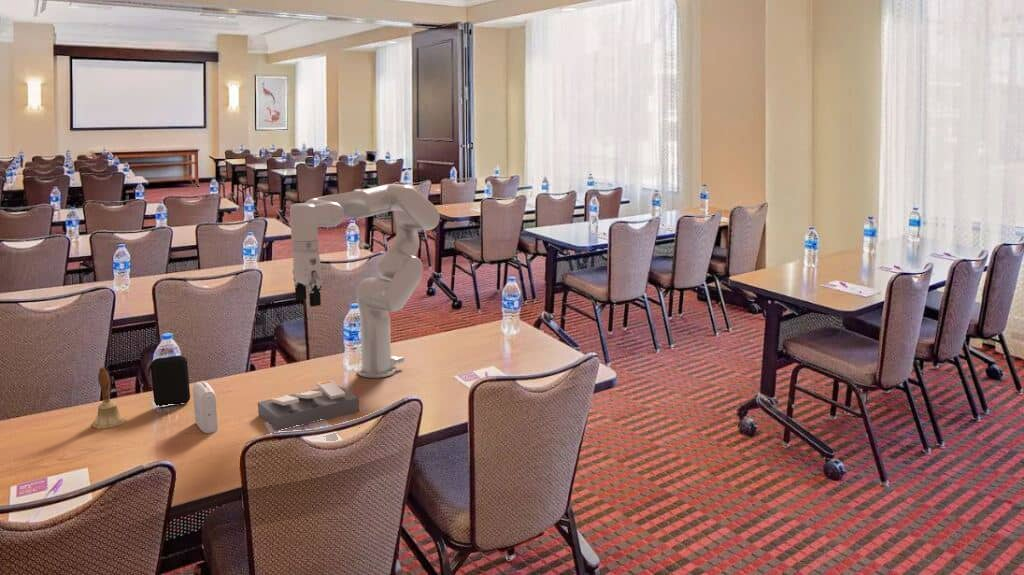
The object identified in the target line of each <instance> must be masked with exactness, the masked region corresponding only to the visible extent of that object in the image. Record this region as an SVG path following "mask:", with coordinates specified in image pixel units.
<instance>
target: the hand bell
mask: <svg viewBox="0 0 1024 575" xmlns="http://www.w3.org/2000/svg"><path fill="white" fill-rule="evenodd" d="M97 380H98V385H99V387H100V389H101V394H102V395H101V396H102V402H101V403H100V404H98V407H97V415H96V417H95V419H94V420H93V421H92V422H91V426H93V427H92V428H94V427H95V428H94V429H97V428H98V430H108V429H113V428H116V427H119V426H122V425H123V424H125V423H126V421H127V419H126V418H125V416H123V415H122V414H121V413H120V411H119V409H118V404H117V403H116V402H114V401H111V397H110V392H109V386H110V376H109V374H108V371H107V370H106V367H104V366H103V367H99V370H98V375H97ZM105 428H107V429H105Z"/></svg>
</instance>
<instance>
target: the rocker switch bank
mask: <svg viewBox="0 0 1024 575" xmlns="http://www.w3.org/2000/svg"><path fill="white" fill-rule="evenodd" d="M336 385H337V386H339V387H340V388H341V389H342V390H343V391H344V392H345V396H344V397H339V398H335V399H330V398H329V397H328V396H327V395H326V394H325V393H324V392H323V391H322V390H321V389H320V388H319V387H318V388H315V389H310V390H309V391H319V392H322V396H317V397H313V398H309V399H306V398H299V402H297V403H292V404H288V405H284V406H283V405H280V404H277V403H274V402H271V398H270V399H266V400H262V401H258V402H257V409H258V410H257V411H258V417H260V418H261V419H262V420H263V419H264V422H265V423H267V422H268V423H267V424H269V425H270V424H271V425H272V426H273V427H272V426H271V425H270V426H271V427H272V428H274V429H275V428H276V429H278V430H277V431H278V432H280V431H279V430H281V429H285V428H289V427H293V426H296V425H302V424H305V425H308V424H307V423H309V424H311V423H310V422H313V421H317V420H320V419H325V420H329V419H332V418H337V417H341V416H344V415H348V414H352V413H356V412H360V400H359V397H358V396H357V395H355V394H353V393H351V392H350V391H348V390H346V389H345V388H343V387H341V386H340V385H338V384H336ZM295 394H296V393H293V394H287V395H288V396H292V397H295ZM295 398H296V397H295ZM317 422H318V421H317ZM313 423H314V422H313ZM302 426H303V425H302ZM276 429H275V430H276Z"/></svg>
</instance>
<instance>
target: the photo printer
mask: <svg viewBox="0 0 1024 575" xmlns="http://www.w3.org/2000/svg"><path fill="white" fill-rule="evenodd" d="M192 396H193V408H194V409H193V410H194V411H193V412H194V419H195V423H196V425H197V427H198V428H199V430H201V431H202V433H206V434H211V433H215V432H216V431H218V427H219V426H218V425H219V424H218V411H217V399H216V397H217V396H216V393H215V391H214V389H213V387H212V386H211V385H210V383H207V382H206V381H197V382H195V384H193V387H192Z"/></svg>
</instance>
